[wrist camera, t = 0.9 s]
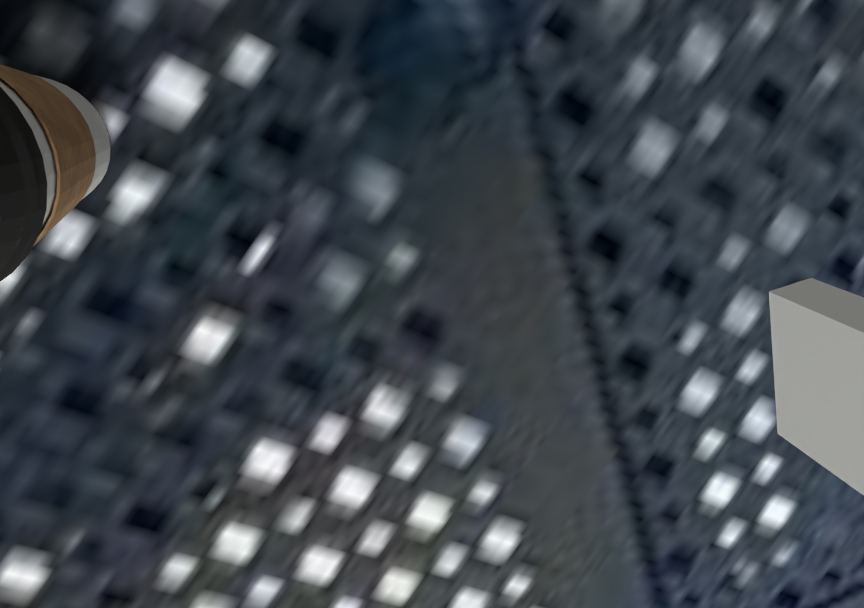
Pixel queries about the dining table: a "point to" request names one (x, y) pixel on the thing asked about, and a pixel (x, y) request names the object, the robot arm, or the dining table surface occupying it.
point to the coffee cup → (43, 159)
